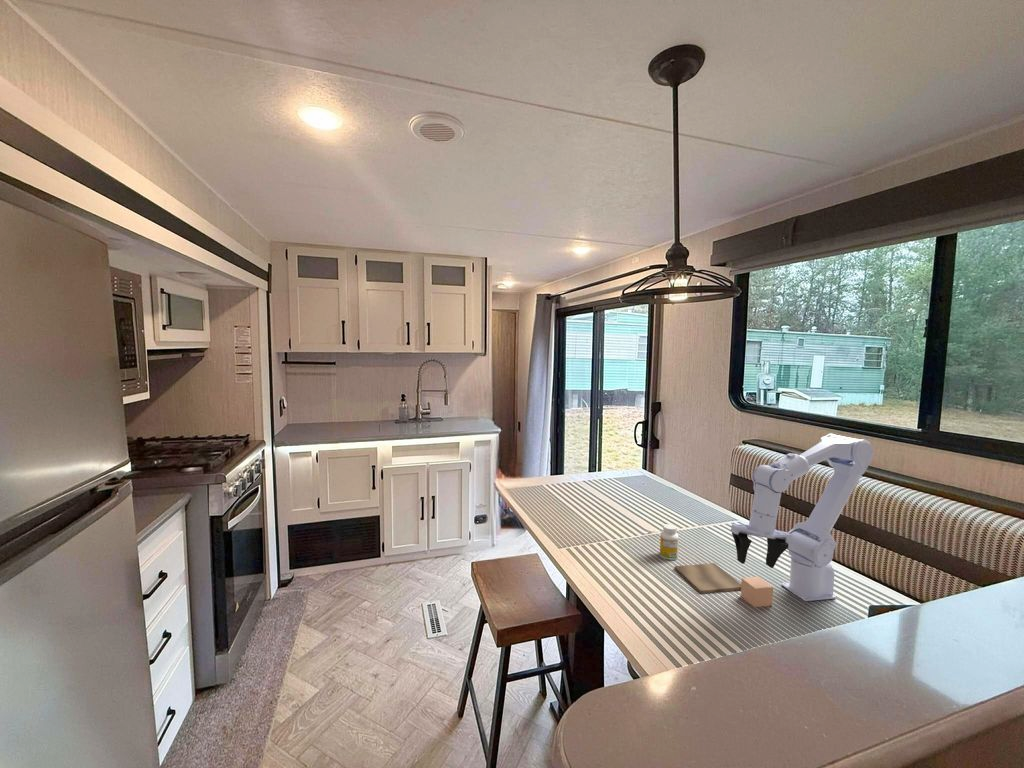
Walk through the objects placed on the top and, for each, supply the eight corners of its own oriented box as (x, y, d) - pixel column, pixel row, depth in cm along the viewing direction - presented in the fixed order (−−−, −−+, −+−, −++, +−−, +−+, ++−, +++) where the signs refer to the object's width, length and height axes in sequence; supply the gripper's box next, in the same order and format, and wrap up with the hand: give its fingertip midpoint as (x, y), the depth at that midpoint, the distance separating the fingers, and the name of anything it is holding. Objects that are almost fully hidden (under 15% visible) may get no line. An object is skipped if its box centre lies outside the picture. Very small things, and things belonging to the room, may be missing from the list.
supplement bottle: (663, 550, 135) (664, 521, 135) (680, 555, 132) (681, 526, 131) (657, 556, 131) (658, 526, 130) (674, 562, 128) (675, 531, 127)
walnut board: (714, 565, 126) (714, 563, 126) (744, 589, 113) (744, 586, 113) (674, 568, 124) (674, 566, 124) (700, 593, 111) (700, 590, 111)
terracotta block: (757, 594, 111) (758, 576, 110) (772, 605, 106) (773, 586, 106) (740, 596, 110) (741, 578, 110) (754, 607, 105) (755, 588, 105)
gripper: (745, 513, 103) (736, 567, 103) (802, 522, 103) (793, 575, 103) (730, 504, 110) (721, 554, 110) (783, 512, 110) (774, 562, 110)
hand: (755, 564), depth 107 cm, fingers open, 7 cm apart
